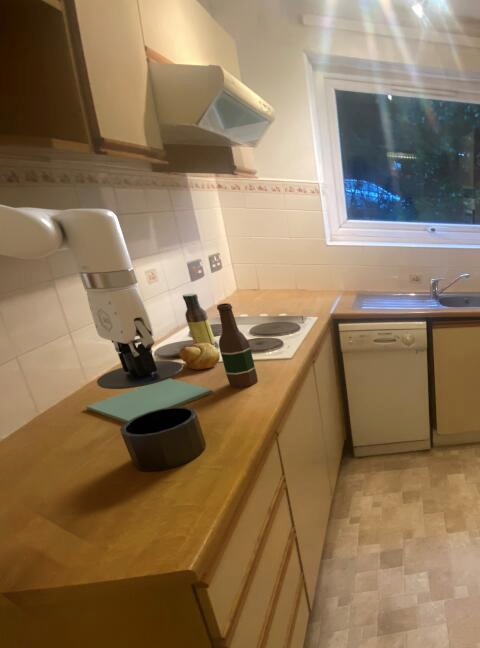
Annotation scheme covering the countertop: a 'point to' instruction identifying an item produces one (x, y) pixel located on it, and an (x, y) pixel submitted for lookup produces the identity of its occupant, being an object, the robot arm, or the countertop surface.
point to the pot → (163, 438)
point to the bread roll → (200, 356)
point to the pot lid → (132, 380)
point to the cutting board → (148, 399)
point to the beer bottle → (235, 351)
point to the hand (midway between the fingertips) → (140, 370)
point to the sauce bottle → (198, 321)
